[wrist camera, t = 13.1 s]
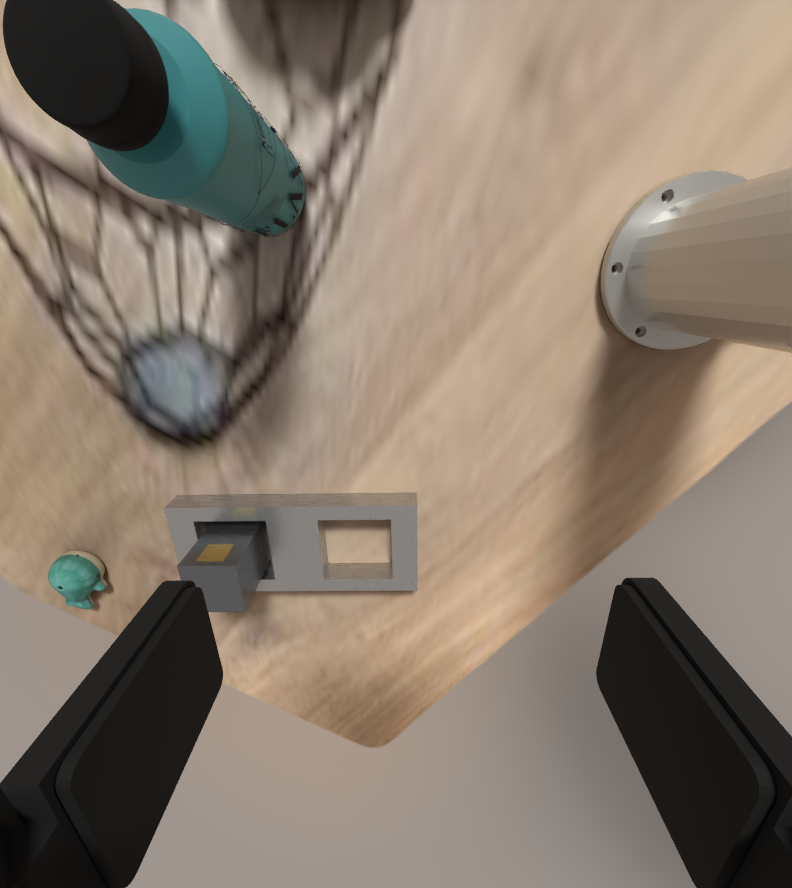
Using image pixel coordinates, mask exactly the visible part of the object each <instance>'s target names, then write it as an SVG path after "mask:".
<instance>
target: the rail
mask: <svg viewBox="0 0 792 888" xmlns="http://www.w3.org/2000/svg"><path fill="white" fill-rule="evenodd" d="M164 510H165V514H166V518H167V521H168V525H169V529H170V532H171V536H172V540H173V543H174V547H175V551H176V554H177V558H178V562H179V563H180V562H181V561H182V559H183V558H184V557H185V556H186V554H187V553H188V552H189V551H190V549H191V548H192V547H193V546H194V544H195V543H196V542H197V541H198V539H199V538H200V537H201V536H202V534H203V533H204V532H205V531H206V530H207V528H208V527H209V523H208V521H266V527H267V533H268V539H269V545H270V551H271V557H272V563H273V564H268V566H267V568H266V570H265V572H264V574H263V576H262V578H261V580H260V582H259V584H258V587H257V589H256V591H417V495H416V493H341V494H251V495H178V496H176V497H175V498H174V499H173V500H172V501H171V502H170V503H169V504H168V505H167V506H166V507H165V508H164ZM324 520H391V541H392V563H328V556H327V546H326V537H325V527H324Z"/></svg>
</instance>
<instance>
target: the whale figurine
mask: <svg viewBox="0 0 792 888" xmlns="http://www.w3.org/2000/svg"><path fill="white" fill-rule="evenodd" d="M104 573H105V567H104V565H103V563H102V561H101V560H100V559H99V558H97V557H96V556H94V555H93V554H90V553H87V552H83V551H70V552H67V553H65V554H63V555H62V556H60V557H59V558H58V559H57V560H56V561H55V562H54V563H53V564H52V566H51V568H50V570H49V573H48V580H49V583H50V584H51V586H52V587H53V588H54V589H55V590H57V591H58V592H59V593H60V594H61V595H62V596H63V597H65V598H66V604H67V605H69V606H75V607H79V608H83V609H90V608H92V607H93V605H94V602H93V599H92V597H91V596H90V594H91V593H92V591H93V590H96V591H103V590H105V589H106V588H107V582H106V581H105V580H104V579H103V575H104Z"/></svg>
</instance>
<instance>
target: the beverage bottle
mask: <svg viewBox="0 0 792 888" xmlns="http://www.w3.org/2000/svg"><path fill="white" fill-rule="evenodd" d="M3 36H4V43H5V48H6V52H7V55H8V58H9V61H10V64H11V66H12V68H13V71H14V73H15V75H16V77H17V78H18V80H19V82H20V84H21V85H22V87H23V88H24V90H25V91H26V92H27V94H28V95H29V96H30V97H31V99H32V100H33V101H34V102H35V103H36V104H37V105H38V106H39V107H40V108H41V109H42V110H43V111H44V112H46V113H47V114H48V115H49V116H51V117H52V118H53V119H55V120H56V121H58V122H60V123H61V124H63V125H65V126H67V127H68V128H70V129H72V130H73V131H74V132H76V133H77V134H79V135H80V136H82V137H83V138H85V139H87V141H88V143H89V145H90V147H91V148H92V150H93V151H94V153H95V154H96V156H97V157H98V158H99V160H100V161H101V162H102V163H103V165H104V166H105V167H106V168H107V169H108V170H109V171H110V172H111V173H112V174H113V175H114V176H115V177H116V178H117V179H118V180H120V181H121V182H122V183H124V184H125V185H127V186H128V187H130V188H131V189H133V190H135V191H137V192H139V193H141V194H144V195H146V196H149V197H153V198H157V199H162V200H166V201H169V202H171V203H174V204H177V205H180V206H183V207H185V208H188V209H191V210H194V211H197V212H199V213H202V214H204V215H205V216H206V215H208V216H210V217H212V218H214V221H215V219H217V220H219V221H222V222H223V225H224V222H225V224H226V223H228V224H226V226H227V225H229V227H231V226H232V225H233V227H235V226H236V228H237V227H239V228H241V229H244V230H247V231H250V232H253V233H256V234H259V235H265V236H264V237H266V236H268V235H273V236H274V237H275V234H277V235H278V234H280V233H282V232H284V231H285V230H287V229H288V228H289V227H291V226H292V225H293V224H294V223H295V221H296V220H297V218H298V217H299V215H300V213H301V211H302V208H303V204H304V198H305V185H304V184H305V182H306V181H304V178H303V177H304V175H302V173H303V172H302V171H301V170H302V169H300V167H302V166H299V164H300V163H298V162H299V161H298V162H297V160H298V159H297V160H296V159H295V157H294V155H293V154H292V152H290V150H289V149H288V145H287V144H286V143H285V144H286V145H287V147H286V146H285V145H284V143H283V142H282V140H280V138H279V137H277V135H278V134H277V133H278V132H277V131H275V129H274V128H272V127H271V126H270V127H269V126H268V125H267V124H266V123H265V121H264V120H263V119H264V118H265V117H264V118H262V116H261V115H260V116H259V114H260V112H258V111H257V112H258V113H257V112H256V110H254V109H255V108H254V107H255V106H254V107H253V106H252V105H251V103H250V104H249V103H248V102H247V101H246V99H245V98H244V97H243V96H242V95H241V93H240V92H239V90H238V89H241V88H240V87H239V88H237V85H236V84H233V83H231V82H230V81H229V80H230V79H232V78H231V77H229V76H228V75H227V74H226V73H225V72H224V71H223V70H222V71H223V72H224V74H225V75H226V76H228V77H229V78H230V79H229V80H228V78H227V77H226V76H225V75H224V74H223V73H221V72H220V70H219V69H218V68H217V67H216V66H215V65H214V64H215V63H213V62H212V60H211V59H210V57H209V56H208V54H207V53H206V52H205V50H204V49H203V48H202V46H201V45H200V44H199V43H198V42H197V41H196V40H195V39H194V38H193V37H192V36H191V34H190V33H188V32H187V31H186V30H185V29H184V28H182V27H181V26H180V25H179V24H177V23H175V22H174V21H172V20H171V19H169V18H167V17H165V16H163V15H161V14H158V13H155V12H152V11H149V10H143V9H136V8H134V9H124V8H123V7H122V6H120V5H119V4H118V3H116V2H115V1H113V0H7V1H6V4H5V8H4V15H3ZM216 65H217V64H216ZM219 67H220V66H219ZM222 69H223V68H222ZM232 80H233V79H232ZM232 82H233V81H232ZM234 83H236V82H235V81H234ZM234 85H235V87H236V88H237V89H236V88H235V87H234ZM242 93H243V92H242ZM244 94H245V93H244ZM244 94H243V95H244ZM245 96H246V95H245ZM246 97H247V96H246ZM248 101H249V102H250V100H248ZM251 102H252V101H251ZM252 107H253V108H252ZM265 119H266V118H265ZM266 121H267V120H266ZM268 124H269V123H268ZM276 132H277V133H276ZM276 134H277V135H276ZM281 138H282V137H281ZM282 139H283V138H282ZM284 142H285V141H284ZM305 200H306V199H305ZM304 205H305V204H304ZM301 214H302V213H301ZM300 216H301V215H300ZM212 218H211V219H212ZM297 221H298V220H297ZM217 222H218V221H217ZM230 225H231V226H230ZM294 225H295V224H294ZM294 225H293V226H294ZM293 226H292V227H293ZM233 227H231V228H233ZM292 227H291V228H292ZM239 228H238V229H239ZM291 228H290V229H291ZM234 229H235V228H234ZM240 231H243V230H240ZM286 232H287V231H286ZM248 234H250V233H248ZM252 235H253V234H252Z"/></svg>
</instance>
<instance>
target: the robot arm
mask: <svg viewBox="0 0 792 888" xmlns="http://www.w3.org/2000/svg"><path fill="white" fill-rule="evenodd" d="M662 195H663V200H662V199H661V196H662ZM612 266H614V268H615V269H614V271H613V272H612V270H611V268H612ZM601 294H602V300H603V305H604V307H605V310H606V312H607V315H608V317H609V319H610V320H611V322H612V323H613V325H614V326H615V327H616V329H617V330H618V331H620V332H621V333H622V334H623V335H624V336H625V337H626V338H628V339H630V340H632V341H634V342H635V343H637V344H640V345H644V346H647V347H651V348H656V349H662V350H675V349H682V348H687V347H692V346H695V345H698V344H700V343H703V342H706V341H708V340H710V339H718V340H723V341H729V342H734V343H740V344H745V345H751V346H756V347H762V348H768V349H773V350H779V351H784V352H790V353H792V168H788V169H785V170H782V171H778V172H775V173H771V174H768V175H765V176H761V177H758V178H755V179H751V180H747V179H746V178H744V177H743V176H740V175H737V174H734V173H731V172H728V171H716V170H708V171H701V172H694V173H691V174H688V175H685V176H682V177H679V178H676V179H674V180H672V181H669V182H667V183H665V184H663V185H661V186H659V187H658V188H656V189H655V190H653V191H652V192H650V193H649V194H647V195H646V196H645V197H644V198H642V199H641V200H640V201H639V202H638V203H637V204H636V205H635V206H634V207H633V208H632V209H631V210H630V211H629V213H628V214H627V215H626V216H625V218H624V219H623V220H622V221H621V223H620V224H619V226H618V228H617V229H616V231H615V233H614V235H613V236H612V238H611V240H610V243H609V245H608V248H607V251H606V253H605V256H604V260H603V265H602V270H601ZM637 328H638V331H637V332H636V333H635V331H636V329H637ZM596 673H597V674H596V675H597V682H598V685H599V688H600V690H601V692H602V695H603V697H604V699H605V701H606V703H607V705H608V707H609V709H610V711H611V713H612V715H613V717H614V719H615V722H616V724H617V726H618V728H619V730H620V732H621V734H622V736H623V738H624V740H625V742H626V744H627V746H628V748H629V750H630V752H631V755H632V757H633V759H634V761H635V763H636V765H637V767H638V769H639V771H640V773H641V775H642V777H643V780H644V782H645V784H646V786H647V788H648V790H649V792H650V794H651V796H652V798H653V800H654V802H655V804H656V806H657V809H658V811H659V813H660V815H661V817H662V819H663V821H664V823H665V825H666V827H667V829H668V831H669V833H670V835H671V838H672V840H673V842H674V844H675V846H676V848H677V850H678V852H679V854H680V856H681V858H682V860H683V862H684V864H685V867H686V869H687V871H688V873H689V875H690V877H691V879H692V881H693V882H694V884H695V886H696V887H697V888H792V737H791V735H790V734H789V733H788V732H787V731H786V730H785V729H784V727H783V726H782V725H781V724H780V723H779V721H778V720H777V719H776V718H775V717H774V716H773V714H772V713H771V712H770V711H769V710H768V709H767V708H766V706H765V705H764V704H763V703H762V702H761V700H760V699H759V698H758V697H757V696H756V694H754V692H753V691H752V690H751V689H750V688H749V686H748V685H747V684H746V683H745V682H744V680H743V679H742V678H741V677H740V676H739V675H738V673H737V672H736V671H735V670H734V669H733V668H732V667H731V665H730V664H729V663H728V662H727V661H726V660H725V658H724V657H723V656H722V655H721V654H720V653H719V651H718V650H717V649H716V648H715V647H714V645H713V644H712V643H711V642H710V641H709V639H708V638H707V637H706V636H705V635H704V634H703V633H702V631H701V630H700V629H699V628H698V627H697V625H696V624H695V623H694V622H693V621H692V620H691V619H690V617H689V616H688V615H687V614H686V613H685V611H684V610H683V609H682V608H681V607H680V606H679V604H678V603H677V602H676V601H675V600H674V599H673V597H672V596H671V595H670V594H669V593H668V592H667V590H666V589H665V588H664V587H663V586H662V585H661V583H660V582H659V581H658V580H656V579H654V578H626V579H624V580H623V582H622V585H617V586H616V588H615V591H614V595H613V600H612V604H611V608H610V613H609V617H608V622H607V626H606V631H605V635H604V639H603V644H602V648H601V653H600V657H599V661H598V666H597V671H596ZM222 679H223V669H222V665H221V661H220V657H219V653H218V649H217V646H216V642H215V638H214V634H213V630H212V626H211V622H210V618H209V614H208V610H207V606H206V602H205V598H204V594H203V591H202V589H201V588H200V587H196V585H195V583H194V582H193V581H165V582H163V583H162V584H161V585H160V586H159V587H158V588H157V589H156V591H155V592H154V593H153V594H152V596H151V597H150V598H149V599H148V601H147V602H146V603H145V604H144V606H143V607H142V608H141V609H140V611H139V612H138V613H137V614H136V616H135V617H134V618H133V619H132V620H131V622H130V623H129V624H128V625H127V627H126V628H125V629H124V630H123V632H122V633H121V634H120V635H119V637H118V638H117V639H116V640H115V642H114V643H113V644H112V645H111V647H110V648H109V649H108V650H107V652H106V653H105V654H104V655H103V656H102V658H101V659H100V660H99V661H98V663H97V664H96V665H95V666H94V668H93V669H92V670H91V671H90V673H89V674H88V675H87V676H86V678H85V679H84V680H83V681H82V683H81V684H80V685H79V686H78V688H77V689H76V690H75V691H74V693H73V694H72V695H71V696H70V697H69V699H68V700H67V701H66V702H65V704H64V705H63V706H62V707H61V709H60V710H59V711H58V713H57V714H56V715H55V716H54V717H53V719H52V720H51V721H50V722H49V724H48V725H47V726H46V727H45V728H44V730H43V731H42V732H41V733H40V735H39V736H38V737H37V738H36V740H35V741H34V742H33V743H32V745H31V746H30V747H29V748H28V750H27V751H26V752H25V753H24V755H23V756H22V757H21V758H20V760H19V761H18V762H17V763H16V764H15V766H14V767H13V768H12V770H11V771H10V772H9V773H8V775H7V776H6V777H5V778H4V779H3V781H2V782H1V783H0V888H125V887H127V886H128V885H129V884H130V883H131V882H132V880H133V879H134V877H135V875H136V873H137V871H138V869H139V867H140V865H141V862H142V860H143V858H144V856H145V854H146V851H147V849H148V847H149V845H150V842H151V840H152V838H153V836H154V834H155V831H156V829H157V827H158V825H159V823H160V820H161V818H162V816H163V814H164V812H165V809H166V807H167V805H168V803H169V800H170V798H171V796H172V794H173V792H174V789H175V787H176V785H177V783H178V780H179V778H180V776H181V774H182V771H183V770H184V767H185V765H186V763H187V761H188V758H189V756H190V754H191V752H192V750H193V747H194V745H195V743H196V741H197V739H198V736H199V734H200V732H201V730H202V728H203V725H204V723H205V721H206V719H207V716H208V714H209V712H210V710H211V708H212V705H213V703H214V701H215V699H216V696H217V694H218V692H219V690H220V687H221V684H222Z"/></svg>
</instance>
